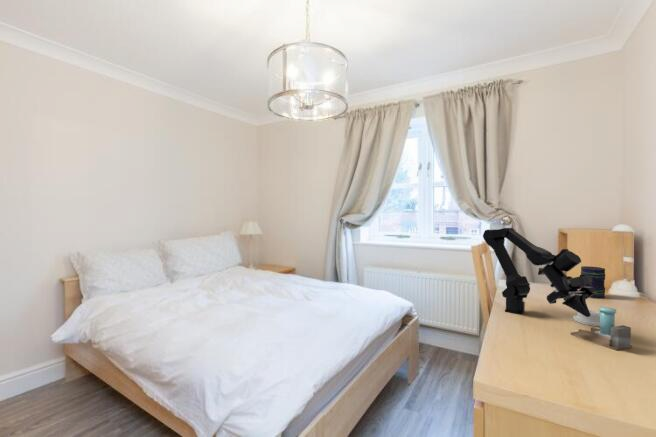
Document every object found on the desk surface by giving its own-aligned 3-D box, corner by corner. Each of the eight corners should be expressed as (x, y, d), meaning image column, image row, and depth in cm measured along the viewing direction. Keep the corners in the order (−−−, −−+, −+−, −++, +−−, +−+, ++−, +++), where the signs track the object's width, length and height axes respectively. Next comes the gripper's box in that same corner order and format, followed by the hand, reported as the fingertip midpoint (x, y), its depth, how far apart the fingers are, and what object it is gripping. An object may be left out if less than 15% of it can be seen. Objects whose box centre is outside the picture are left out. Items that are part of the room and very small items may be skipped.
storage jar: (600, 295, 164) (601, 267, 164) (608, 299, 155) (609, 270, 155) (577, 293, 168) (577, 265, 168) (583, 297, 159) (584, 268, 159)
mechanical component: (581, 325, 120) (612, 328, 117) (581, 314, 120) (612, 316, 117) (568, 317, 129) (596, 319, 127) (568, 307, 129) (596, 308, 127)
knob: (594, 338, 105) (594, 307, 105) (603, 337, 106) (603, 306, 106) (611, 344, 100) (611, 311, 100) (620, 343, 101) (620, 310, 101)
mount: (570, 334, 111) (570, 315, 110) (585, 331, 113) (585, 313, 113) (616, 350, 97) (616, 329, 97) (632, 347, 100) (632, 327, 99)
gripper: (555, 267, 110) (588, 307, 100) (592, 265, 116) (627, 302, 105) (534, 284, 118) (563, 323, 108) (569, 281, 123) (600, 317, 113)
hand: (588, 316), depth 108 cm, fingers closed
